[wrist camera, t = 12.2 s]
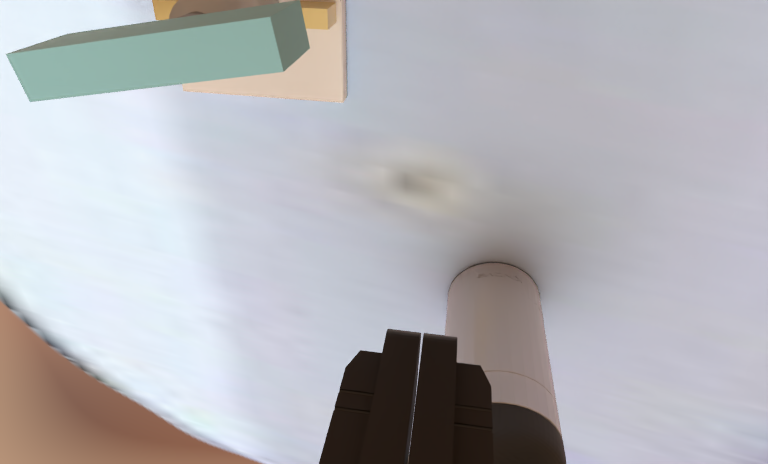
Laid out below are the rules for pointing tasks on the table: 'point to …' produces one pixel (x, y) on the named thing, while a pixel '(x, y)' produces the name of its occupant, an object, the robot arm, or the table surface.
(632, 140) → the table surface
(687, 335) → the table surface
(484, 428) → the robot arm
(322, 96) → the post base
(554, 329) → the table surface
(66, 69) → the pale green block
